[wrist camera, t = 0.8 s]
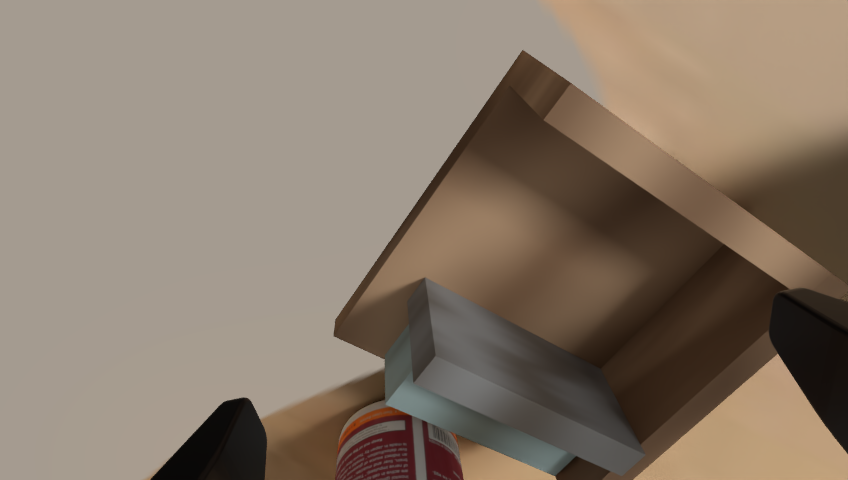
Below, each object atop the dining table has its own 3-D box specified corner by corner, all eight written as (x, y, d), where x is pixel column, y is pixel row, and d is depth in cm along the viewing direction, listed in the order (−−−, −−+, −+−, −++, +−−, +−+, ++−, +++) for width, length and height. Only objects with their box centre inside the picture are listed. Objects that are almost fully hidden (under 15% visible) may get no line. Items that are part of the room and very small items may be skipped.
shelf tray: (752, 217, 24) (864, 296, 18) (551, 420, 29) (591, 529, 23) (522, 49, 20) (577, 87, 14) (335, 319, 25) (322, 423, 19)
